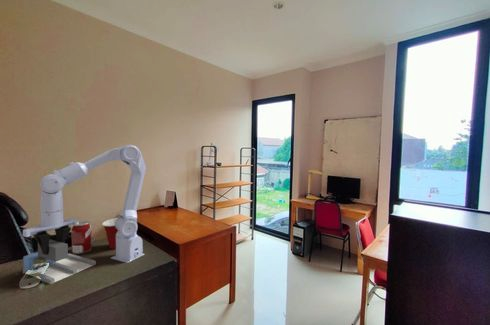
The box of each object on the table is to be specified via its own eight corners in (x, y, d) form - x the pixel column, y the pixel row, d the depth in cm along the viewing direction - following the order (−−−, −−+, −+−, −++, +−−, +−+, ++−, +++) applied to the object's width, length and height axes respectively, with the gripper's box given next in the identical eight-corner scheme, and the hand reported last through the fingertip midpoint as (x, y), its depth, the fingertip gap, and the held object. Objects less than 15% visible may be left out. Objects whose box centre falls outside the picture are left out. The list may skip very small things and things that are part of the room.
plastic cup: (99, 247, 100) (99, 220, 99) (126, 240, 107) (125, 215, 107) (106, 255, 92) (105, 225, 92) (134, 247, 100) (134, 220, 99)
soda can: (81, 256, 91) (81, 226, 91) (67, 254, 92) (67, 225, 92) (95, 249, 98) (95, 221, 97) (82, 247, 99) (82, 220, 99)
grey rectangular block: (67, 257, 76) (67, 243, 76) (55, 261, 72) (55, 247, 72) (50, 252, 80) (50, 239, 80) (37, 256, 76) (37, 242, 76)
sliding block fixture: (95, 265, 83) (95, 248, 83) (50, 285, 70) (50, 265, 70) (68, 257, 90) (68, 241, 89) (23, 274, 77) (22, 256, 77)
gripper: (69, 205, 84) (69, 242, 84) (17, 214, 71) (18, 258, 71) (81, 207, 81) (81, 245, 81) (29, 217, 68) (30, 262, 68)
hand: (52, 251), depth 76 cm, fingers closed on grey rectangular block, 3 cm apart
